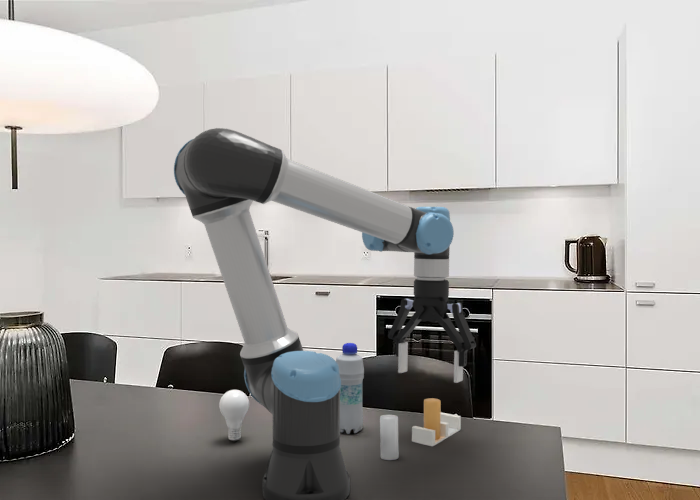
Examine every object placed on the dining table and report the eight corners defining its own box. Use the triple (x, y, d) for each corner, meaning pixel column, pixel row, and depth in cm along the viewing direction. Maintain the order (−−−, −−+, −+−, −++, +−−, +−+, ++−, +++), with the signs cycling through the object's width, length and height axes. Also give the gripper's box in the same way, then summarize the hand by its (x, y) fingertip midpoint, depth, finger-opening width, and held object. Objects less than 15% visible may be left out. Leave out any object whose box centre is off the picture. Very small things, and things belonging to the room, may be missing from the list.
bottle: (365, 426, 140) (365, 340, 139) (362, 436, 133) (363, 346, 133) (336, 425, 141) (336, 339, 140) (332, 435, 134) (332, 345, 133)
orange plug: (443, 436, 132) (443, 399, 132) (436, 441, 129) (436, 404, 129) (427, 433, 134) (428, 397, 134) (420, 437, 131) (421, 401, 131)
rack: (432, 446, 127) (432, 431, 127) (411, 441, 130) (411, 427, 130) (460, 429, 138) (460, 416, 138) (441, 425, 141) (441, 412, 140)
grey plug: (391, 461, 119) (390, 420, 118) (376, 457, 121) (376, 417, 121) (402, 456, 121) (401, 416, 121) (387, 452, 124) (387, 413, 124)
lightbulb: (213, 442, 129) (212, 391, 129) (232, 433, 135) (231, 385, 134) (236, 447, 126) (236, 395, 126) (255, 438, 132) (255, 388, 131)
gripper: (493, 280, 126) (491, 382, 126) (391, 274, 141) (390, 365, 141) (477, 283, 120) (475, 389, 120) (373, 276, 135) (372, 371, 135)
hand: (429, 376), depth 131 cm, fingers open, 13 cm apart
